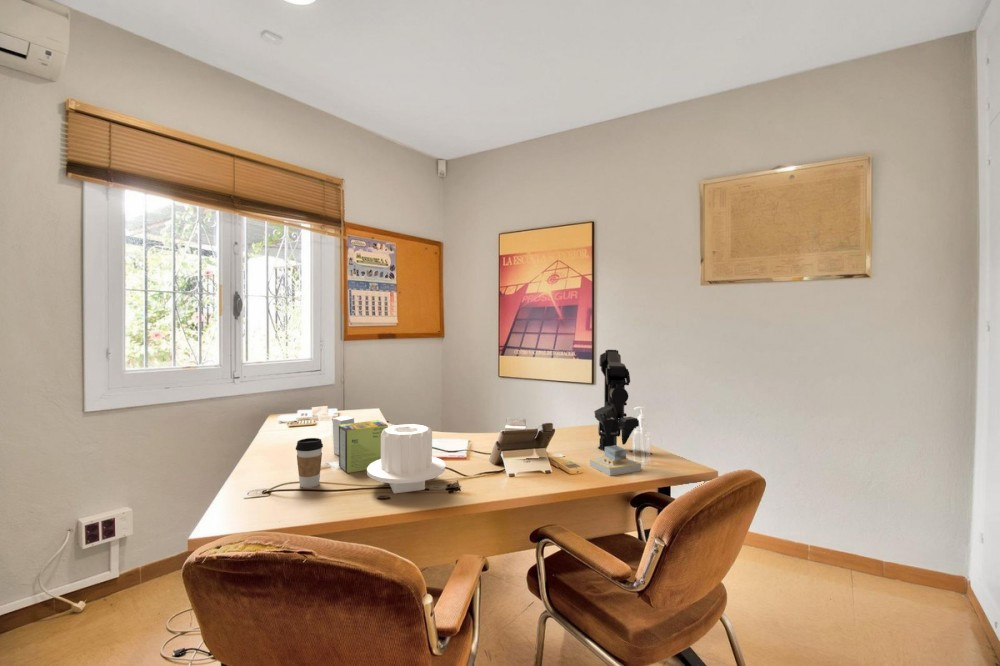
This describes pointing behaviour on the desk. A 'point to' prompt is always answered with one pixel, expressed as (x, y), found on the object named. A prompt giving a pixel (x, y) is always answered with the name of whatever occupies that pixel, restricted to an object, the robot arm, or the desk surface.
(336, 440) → the skincare box
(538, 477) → the desk surface
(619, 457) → the pallet
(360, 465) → the protein box
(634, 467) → the block
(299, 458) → the coffee cup
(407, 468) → the flanged gear
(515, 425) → the ink cartridge box
